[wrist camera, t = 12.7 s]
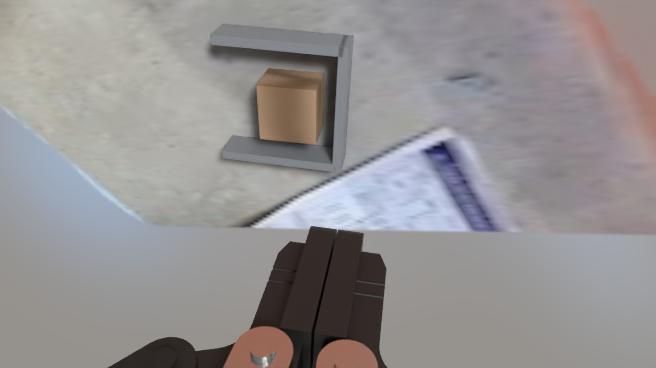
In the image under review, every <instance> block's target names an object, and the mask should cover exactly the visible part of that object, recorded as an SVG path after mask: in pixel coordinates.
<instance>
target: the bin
mask: <svg viewBox="0 0 656 368" xmlns="http://www.w3.org/2000/svg"><path fill="white" fill-rule="evenodd" d="M210 40H211V45H220V46H231V47H241V48H252V49H262V50H272V51H283V52H293V53H303V54H314V55H324V56H334V57H338V67H337V87H336V106H335V125H334V144H333V147H326V146H317V145H309V144H300V143H292V142H283V141H275V140H266V139H258V138H250V137H241V136H232V137H231V138H230V140H229V141H228V143H227V144H226V146H225V147H224V149H223V150H222V156H223V158H225V159H233V160H241V161H249V162H257V163H266V164H274V165H282V166H290V167H298V168H306V169H314V170H322V171H330V172H338V173H341V170H342V166H343V162H344V158H345V151H346V137H347V122H348V108H349V93H350V79H351V65H352V50H353V36H350V35H339V34H328V33H317V32H306V31H295V30H284V29H273V28H262V27H251V26H240V25H229V24H222V25H221V26H220V27H219V28H217V29H216V30H215V31H214V32H213V33H211V34H210Z"/></svg>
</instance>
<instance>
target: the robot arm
mask: <svg viewBox="0 0 656 368" xmlns="http://www.w3.org/2000/svg"><path fill="white" fill-rule="evenodd" d="M363 237H364V233H359V232H352V231H345V230H338V233H337V230H336V229H330V228H322V227H315V226H311V227H310V230H309V234H308V237H307V240H306V243H297V242H291V241H290V242H289V243H288V244H287V245H286V246H285V247H284V248H283V249H282V250H281V251H280V252H279V253H278V255H277V258H276V261H275V264H274V266H273V270H272V272H271V274H270V277H269V281H268V283H267V286H266V288H265V291H264V293H263V296H262V299H261V301H260V304H259V307H258V310H257V312H256V315H255V318H254V320H253V323H252V325H251V328H250V329H249V331H247V332H245V333H244V334H242V335H241V336H240V337H239V338H238V339H237V341H236V342H235V343H233V344H231V345H229V346H226V347H222V348H217V349H209V350H201V351H195V349H194V348H193V346H192V345H191V344H190V343H189V342H187V341H186V340H184V339H181V338H177V337H167V338H162V339H159V340H156V341H154V342H151V343H149V344H148V345H146V346H144V347H143V348H141V349H139V350H137V351H136V352H134V353H132V354H131V355H129V356H127V357H125V358H124V359H122V360H120V361H119V362H117V363H115V364H113V365H112V366H110V367H108V368H387V367H386V365H385V364H384V362H383V360H382V358H381V355H380V351H379V343H380V331H381V321H382V310H383V298H384V289H385V277H386V267H385V264H384V262H383V260H382V258H381V255H380V254H375V253H368V252H362V246H363Z"/></svg>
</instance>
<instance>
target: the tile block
mask: <svg viewBox="0 0 656 368" xmlns="http://www.w3.org/2000/svg"><path fill="white" fill-rule="evenodd" d="M256 90H257V104H258V118H259V132H260V139H266V140H275V141H285V142H295V143H305V144H315V145H316V143H317V140H318V138H319V135H320V133H321V130H322V127H323V125H324V73H319V72H307V71H295V70H283V69H270V68H269V69H268V70H267V72H266V73H265V74H264V76H263V77H262V78H261V80H260V81H259V82H258V84H257V85H256Z"/></svg>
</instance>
